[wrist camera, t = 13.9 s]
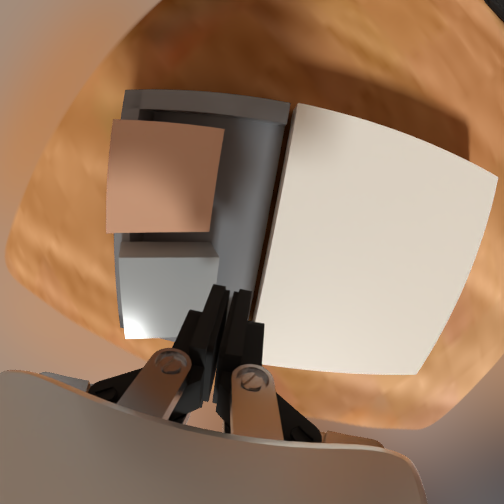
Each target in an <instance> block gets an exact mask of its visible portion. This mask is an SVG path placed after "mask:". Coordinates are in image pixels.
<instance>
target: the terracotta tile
mask: <svg viewBox="0 0 504 504" xmlns="http://www.w3.org/2000/svg"><path fill="white" fill-rule="evenodd" d="M224 130H225V129H221V128H214V127H206V126H198V125H190V124H180V123H170V122H157V121H142V120H119V119H113V125H112V133H111V141H110V151H109V163H108V177H107V199H106V233H143V232H209V230H210V222H211V214H212V207H213V200H214V193H215V186H216V180H217V173H218V167H219V160H220V154H221V148H222V142H223V136H224Z"/></svg>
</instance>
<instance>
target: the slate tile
mask: <svg viewBox="0 0 504 504" xmlns="http://www.w3.org/2000/svg"><path fill="white" fill-rule="evenodd" d="M219 258H220V257H219V256H218V254H217V252H216V251H215V249H214V247H213V246H212V244H211V242H130V241H121V245H120V252H119V276H120V291H121V303H122V313H123V323H124V331H125V339H142V338H167V337H177V336H178V334H179V331H180V329H181V327H182V325H183V322H184V320H185V318H186V316H187V314H188V312H189V310H190V309H191V310H196V311H200V312H202V311H203V309H204V306H205V304H206V301H207V299H208V296H209V293H210V291H211V288H212V286H213V284H216V283H217V274H218V266H219Z"/></svg>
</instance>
